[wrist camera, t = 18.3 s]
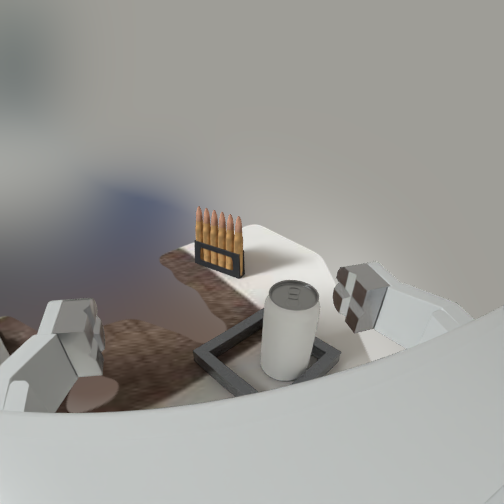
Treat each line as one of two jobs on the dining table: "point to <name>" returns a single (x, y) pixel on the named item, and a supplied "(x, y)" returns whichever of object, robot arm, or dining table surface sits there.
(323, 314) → the dining table surface
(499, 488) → the robot arm
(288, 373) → the can
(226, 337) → the dark grey square frame
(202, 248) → the ammunition clip
